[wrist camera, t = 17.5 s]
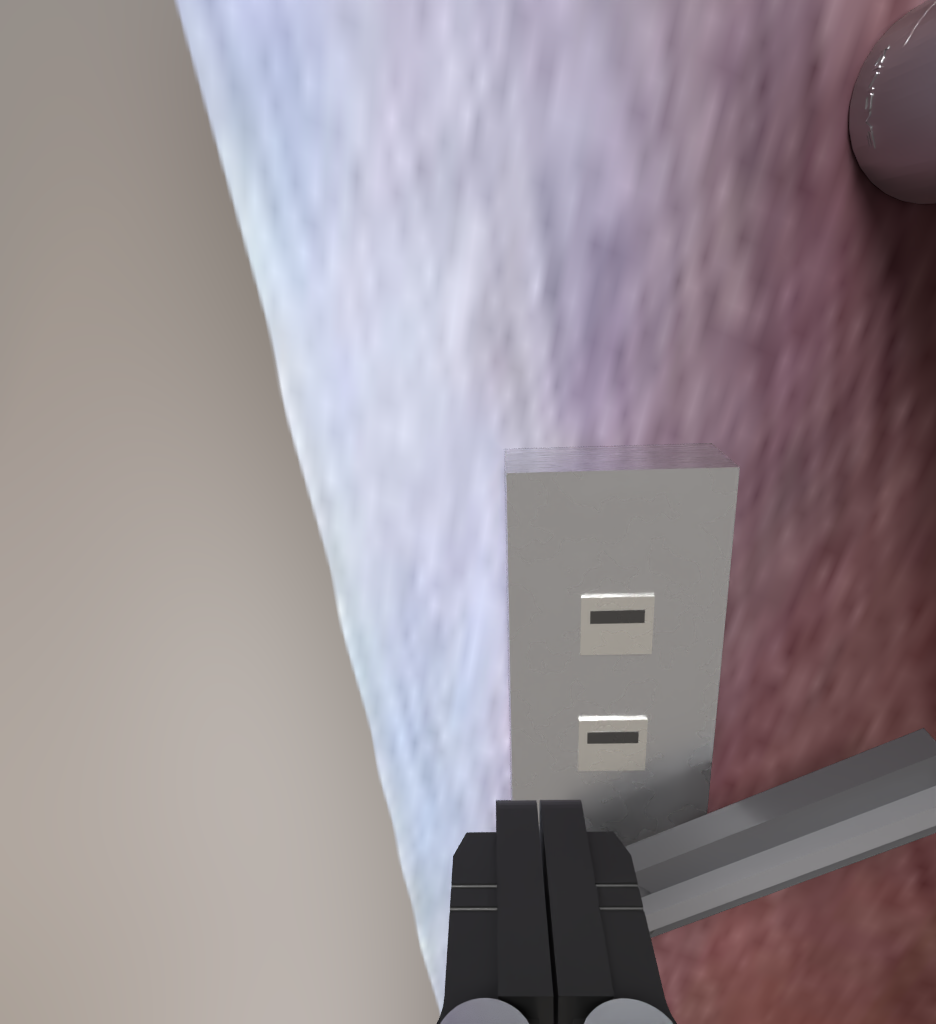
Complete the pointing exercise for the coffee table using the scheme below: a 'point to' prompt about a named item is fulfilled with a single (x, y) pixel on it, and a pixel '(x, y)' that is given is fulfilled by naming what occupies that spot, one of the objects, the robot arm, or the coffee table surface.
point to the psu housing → (617, 627)
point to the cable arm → (789, 833)
